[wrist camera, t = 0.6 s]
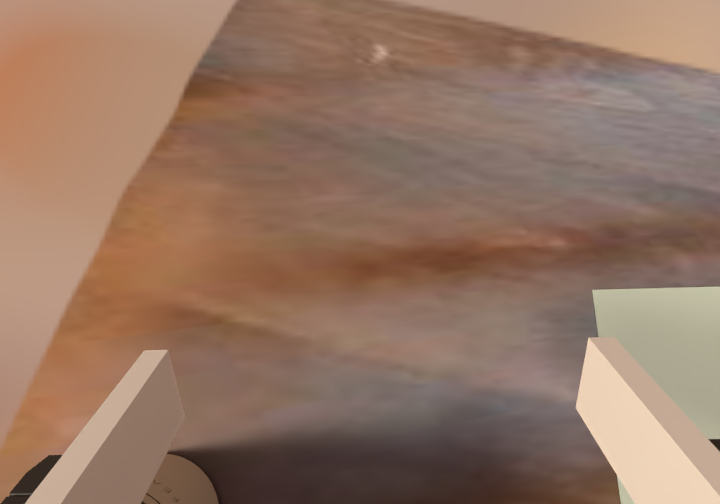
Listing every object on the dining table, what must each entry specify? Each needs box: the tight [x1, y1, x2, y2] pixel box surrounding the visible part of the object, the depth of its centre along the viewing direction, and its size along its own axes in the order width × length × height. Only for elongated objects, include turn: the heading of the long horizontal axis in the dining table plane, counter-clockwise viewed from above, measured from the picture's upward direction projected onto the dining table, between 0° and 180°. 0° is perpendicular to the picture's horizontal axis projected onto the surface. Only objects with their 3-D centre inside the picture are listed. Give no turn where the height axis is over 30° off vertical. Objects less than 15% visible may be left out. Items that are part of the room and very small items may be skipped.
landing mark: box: [592, 287, 720, 504], centre depth 30 cm, size 14×14×1 cm
